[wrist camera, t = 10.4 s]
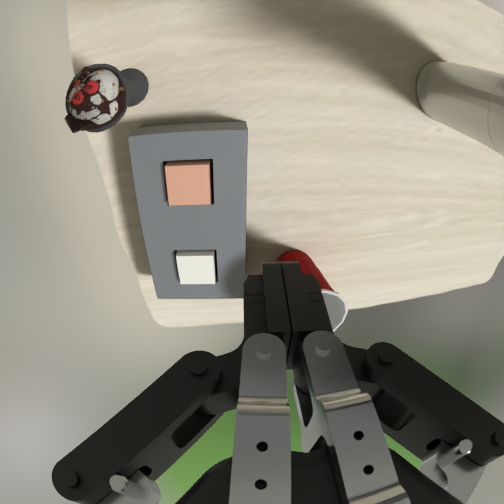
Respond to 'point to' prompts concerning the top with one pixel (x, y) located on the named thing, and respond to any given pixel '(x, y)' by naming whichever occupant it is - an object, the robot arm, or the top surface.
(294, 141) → the top surface
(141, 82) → the sundae
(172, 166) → the terracotta key
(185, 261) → the ivory key
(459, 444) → the robot arm
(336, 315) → the plastic cup
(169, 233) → the key panel
